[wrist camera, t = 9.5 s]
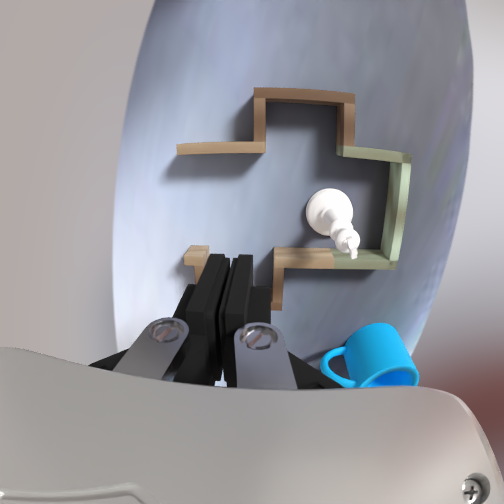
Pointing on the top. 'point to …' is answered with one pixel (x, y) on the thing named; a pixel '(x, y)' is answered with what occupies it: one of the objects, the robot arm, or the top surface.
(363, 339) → the mug
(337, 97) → the box
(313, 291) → the top surface
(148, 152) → the top surface
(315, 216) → the chess piece
